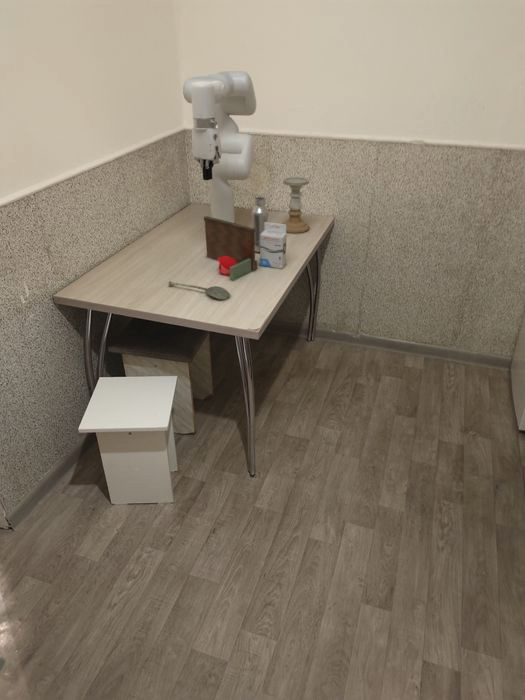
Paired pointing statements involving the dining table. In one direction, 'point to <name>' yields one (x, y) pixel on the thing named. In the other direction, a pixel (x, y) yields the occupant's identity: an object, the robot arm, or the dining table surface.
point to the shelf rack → (231, 244)
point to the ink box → (273, 245)
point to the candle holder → (295, 205)
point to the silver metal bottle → (259, 219)
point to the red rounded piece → (226, 264)
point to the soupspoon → (209, 290)
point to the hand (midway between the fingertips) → (207, 179)
